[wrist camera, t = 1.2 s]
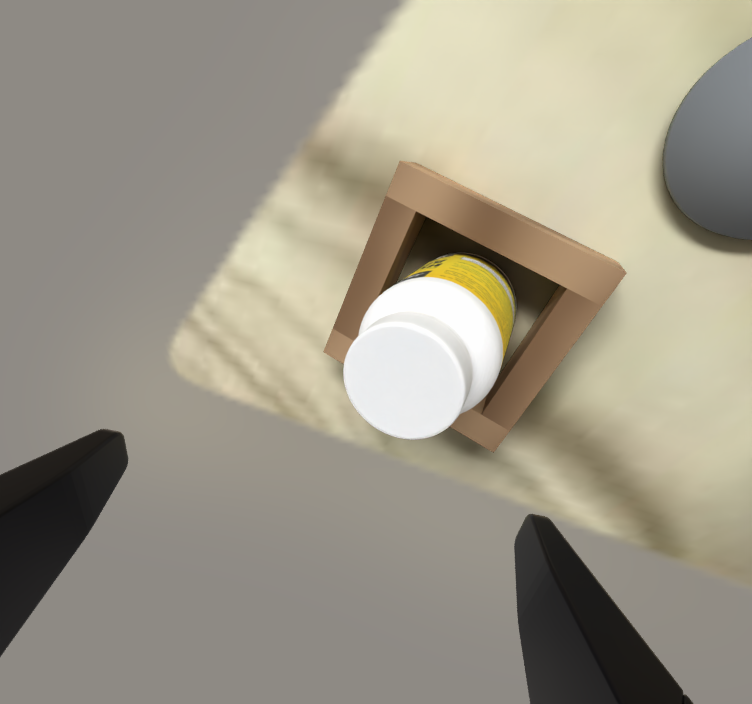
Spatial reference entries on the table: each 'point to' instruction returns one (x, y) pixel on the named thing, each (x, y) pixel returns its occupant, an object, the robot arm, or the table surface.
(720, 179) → the coaster
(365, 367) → the supplement bottle
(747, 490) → the table surface
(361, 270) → the wooden frame
